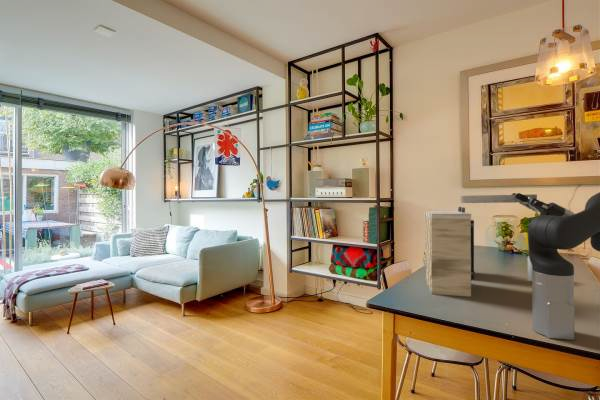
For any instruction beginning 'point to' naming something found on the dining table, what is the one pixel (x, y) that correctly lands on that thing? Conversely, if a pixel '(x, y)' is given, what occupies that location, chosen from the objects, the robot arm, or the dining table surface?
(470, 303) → the dining table surface
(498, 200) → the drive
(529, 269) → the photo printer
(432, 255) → the stand
